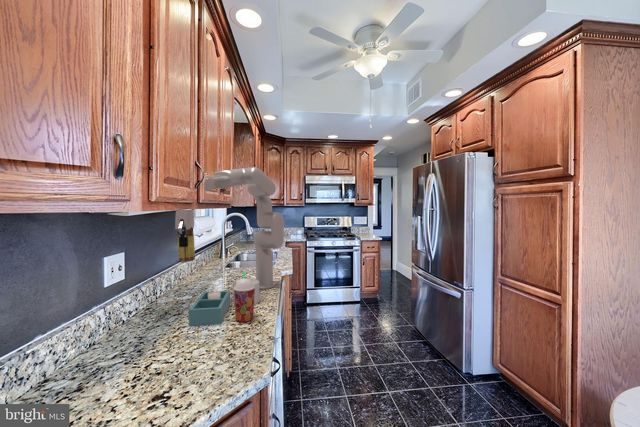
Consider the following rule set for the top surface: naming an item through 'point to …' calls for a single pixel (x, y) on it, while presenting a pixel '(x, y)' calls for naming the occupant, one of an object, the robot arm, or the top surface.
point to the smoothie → (244, 299)
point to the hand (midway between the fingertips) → (186, 245)
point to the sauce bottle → (189, 251)
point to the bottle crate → (209, 309)
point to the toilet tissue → (257, 295)
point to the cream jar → (214, 295)
